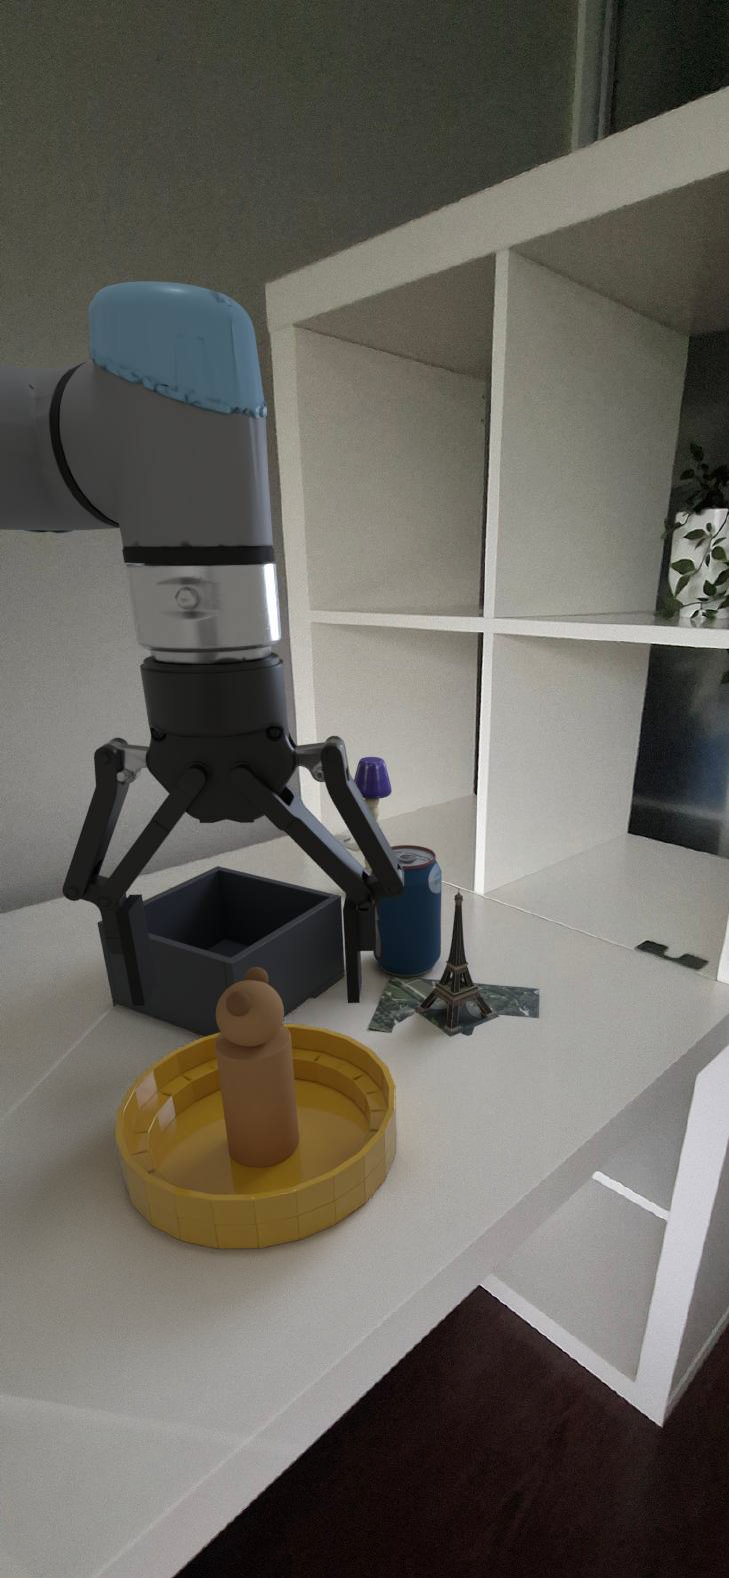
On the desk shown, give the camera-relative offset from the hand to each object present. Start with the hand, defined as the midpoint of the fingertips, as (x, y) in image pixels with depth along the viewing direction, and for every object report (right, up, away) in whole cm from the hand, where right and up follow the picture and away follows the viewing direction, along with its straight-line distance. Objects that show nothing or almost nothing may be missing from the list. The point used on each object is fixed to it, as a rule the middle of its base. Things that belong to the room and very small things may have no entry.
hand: (250, 994), depth 52 cm
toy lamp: (+5, +8, +48) cm, 49 cm away
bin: (-7, -2, +26) cm, 27 cm away
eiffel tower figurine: (+14, -4, +22) cm, 27 cm away
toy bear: (0, -11, +6) cm, 13 cm away
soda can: (+9, 0, +31) cm, 32 cm away
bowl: (0, -12, +6) cm, 13 cm away
